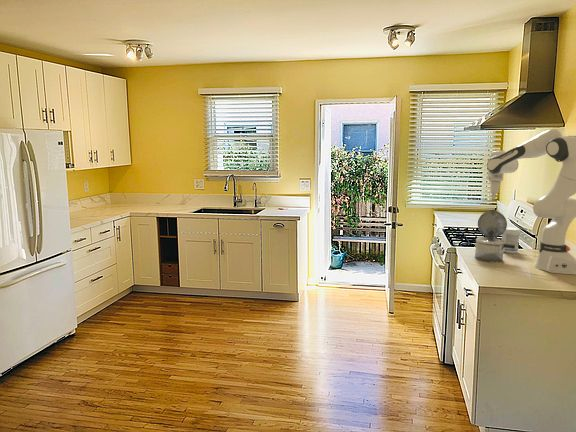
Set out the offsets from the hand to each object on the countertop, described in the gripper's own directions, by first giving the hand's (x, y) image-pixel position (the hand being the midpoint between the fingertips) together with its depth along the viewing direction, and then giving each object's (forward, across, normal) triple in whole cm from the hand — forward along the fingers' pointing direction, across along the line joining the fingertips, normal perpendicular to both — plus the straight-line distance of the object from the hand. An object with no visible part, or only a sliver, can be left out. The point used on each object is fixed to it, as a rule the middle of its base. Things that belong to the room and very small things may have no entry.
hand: (493, 199), depth 287 cm
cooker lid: (+13, +15, 0) cm, 20 cm away
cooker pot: (+32, +24, +2) cm, 40 cm away
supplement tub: (+32, 0, +12) cm, 34 cm away
